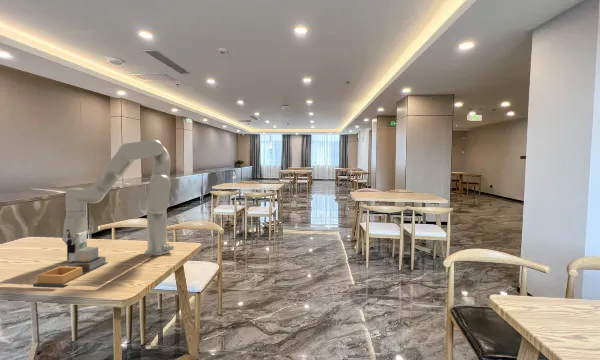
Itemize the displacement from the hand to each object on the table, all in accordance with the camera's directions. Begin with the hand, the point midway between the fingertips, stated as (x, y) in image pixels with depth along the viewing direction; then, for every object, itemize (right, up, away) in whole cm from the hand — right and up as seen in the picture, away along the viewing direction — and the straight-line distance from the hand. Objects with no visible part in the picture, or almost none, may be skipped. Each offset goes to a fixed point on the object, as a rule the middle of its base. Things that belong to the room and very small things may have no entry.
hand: (77, 250), depth 144 cm
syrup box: (0, -6, 0) cm, 6 cm away
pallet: (+11, -7, -16) cm, 21 cm away
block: (+12, -5, -9) cm, 16 cm away
